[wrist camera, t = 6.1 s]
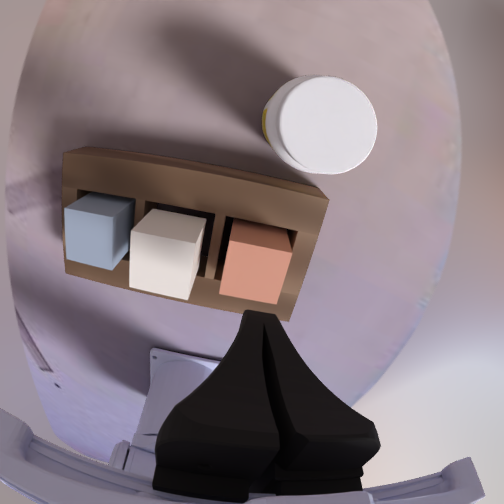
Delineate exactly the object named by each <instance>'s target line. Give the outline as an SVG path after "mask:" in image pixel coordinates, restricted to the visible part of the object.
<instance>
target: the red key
mask: <svg viewBox="0 0 504 504" xmlns="http://www.w3.org/2000/svg"><path fill="white" fill-rule="evenodd" d="M291 257H292V249H291V246H290V242H289V238H288V235H287V231H286V228H281V227H277V226H272V225H267V224H263V223H258V222H253V221H248V220H243V219H239V218H234V220H233V224H232V229H231V234H230V239H229V244H228V249H227V254H226V259H225V264H224V269H223V274H222V280H221V285H220V291H219V294H222V295H227V296H233V297H238V298H243V299H249V300H254V301H260V302H265V303H271V304H277V301H278V298H279V295H280V292H281V289H282V286H283V283H284V279H285V276H286V273H287V270H288V266H289V263H290V260H291Z"/></svg>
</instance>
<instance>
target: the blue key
mask: <svg viewBox="0 0 504 504" xmlns="http://www.w3.org/2000/svg"><path fill="white" fill-rule="evenodd" d="M135 205H136V199H134V198H128V197H122V196H116V195H110V194H104V193H98V192H91V193H89V194H87V195H86V196H84V197H82V198H80V199H79V200H77V201H75V202H74V203H72V204H70V205H69V206H67V207H65V208H64V216H65V242H66V257H67V259H69V260H72V261H76V262H80V263H84V264H88V265H92V266H96V267H100V268H104V269H108V270H113V269H114V268H115V266H116V265H117V264H118V263H119V261H120V260H121V259H122V258H123V257H124V255H125V254H126V253H127V252H128V251H129V249H130V239H131V230H132V229H133V228H134V217H135Z"/></svg>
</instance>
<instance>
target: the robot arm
mask: <svg viewBox="0 0 504 504" xmlns="http://www.w3.org/2000/svg"><path fill="white" fill-rule="evenodd" d="M155 356H156V357H155ZM129 445H130V442H128V441H126V440H123V441H122V442H120V443H117V444H116V445H115V447H114V449H113V452H112V454H111V457H110V461H109V464H108V465H105V464H102V463H99V462H97V461H93V460H91V459H88V458H86V457H83V456H81V455H78V454H76V453H73V452H71V451H68V450H66V449H64V448H61V447H59V446H57V445H55V444H53V443H50V442H48V441H46V440H44V439H42V438H40V437H38V436H36V435H34V434H33V432H32V430H31V429H30V427H29V426H28V425H27V424H26V423H25V422H23V421H22V420H20V419H19V418H17V417H15V416H13V415H12V414H10V413H8V412H6V411H5V410H3V409H1V408H0V481H1V482H3V483H4V484H5V485H7V486H8V487H10V488H12V489H13V490H15V491H17V492H18V493H20V494H21V495H23V496H25V497H27V498H28V499H30V500H32V501H34V502H36V503H37V504H474V503H476V502H478V501H479V500H481V499H483V498H484V497H485V493H484V490H483V488H482V485H481V482H480V480H479V477H478V475H477V472H476V469H475V467H474V465H473V462H472V460H471V457H467V458H464V459H461V460H458V461H455V462H453V463H451V464H450V465H448V466H446V467H445V468H444V469H443V470H442V471H441V472H438V473H434V474H431V475H427V476H423V477H419V478H416V479H411V480H407V481H403V482H398V483H393V484H388V485H382V486H377V487H371V488H364V489H362V484H361V479H360V477H362V476H363V474H364V473H363V469H362V466H363V465H364V464H365V463H367V462H368V461H369V460H370V459H371V458H372V457H374V455H375V454H376V453H377V452H378V451H379V449H380V446H381V445H380V441H379V438H378V433H377V430H376V428H375V425H374V423H373V422H372V421H370V420H369V419H367V418H365V417H364V416H362V415H361V414H359V413H358V412H356V411H355V410H353V409H352V408H351V407H349V406H348V405H347V404H345V403H344V402H343V401H341V400H340V399H339V398H338V397H337V396H335V395H334V394H333V393H332V392H331V391H330V390H329V389H328V388H327V387H326V386H325V385H324V384H323V383H322V382H321V381H320V380H319V379H318V378H317V377H316V376H315V374H314V373H313V372H312V371H311V370H310V369H309V367H308V366H307V365H306V364H305V362H304V361H303V359H302V358H301V357H300V355H299V354H298V352H297V351H296V349H295V347H294V346H293V344H292V342H291V341H290V339H289V337H288V336H287V334H286V332H285V330H284V328H283V327H282V325H281V323H280V321H279V319H278V317H277V315H276V314H272V313H266V312H260V311H254V310H249V309H247V310H245V311H244V312H243V316H242V320H241V324H240V328H239V331H238V333H237V336H236V338H235V340H234V342H233V343H232V345H231V347H230V348H229V350H228V352H227V353H226V355H225V356H224V357H223V359H222V360H221V361H215V360H210V359H205V358H199V357H194V356H189V355H185V354H180V353H175V352H171V351H167V350H162V349H158V348H152V349H151V351H150V388H149V392H148V395H147V398H146V401H145V405H144V408H143V411H142V414H141V418H140V421H139V425H138V428H137V431H136V433H135V434H134V437H133V441H132V444H131V446H129Z"/></svg>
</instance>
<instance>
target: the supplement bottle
mask: <svg viewBox="0 0 504 504" xmlns="http://www.w3.org/2000/svg"><path fill="white" fill-rule="evenodd" d="M261 124H262V131H263V134H264V136H265V138H266V140H267V142H268V143H269V145H270V146H271V147H272V149H273V150H274V151H275V153H276V154H277V155H278V156H279V157H280V158H281V159H282V160H283V161H284V162H285V163H287V164H288V165H290V166H292V167H294V168H296V169H298V170H301V171H304V172H308V173H322V174H339V173H343V172H346V171H349V170H351V169H353V168H355V167H356V166H358V165H359V164H360V163H361V162H363V161H364V160H365V159H366V157H367V156H368V155H369V153H370V152H371V150H372V148H373V146H374V143H375V139H376V135H377V120H376V115H375V112H374V109H373V107H372V105H371V103H370V101H369V99H368V98H367V97H366V95H365V94H364V93H363V92H362V91H361V90H360V89H359V88H358V87H356V86H355V85H353V84H352V83H350V82H348V81H346V80H344V79H341V78H337V77H332V76H322V75H305V76H301V77H298V78H295V79H292V80H290V81H289V82H287V83H285V84H284V85H283V86H281V87H280V88H279V89H278V90H277V91H276V92H275V94H274V95H273V96H272V97H271V98H270V99H269V100H268V102H267V104H266V105H265V107H264V110H263V113H262V120H261Z"/></svg>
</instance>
